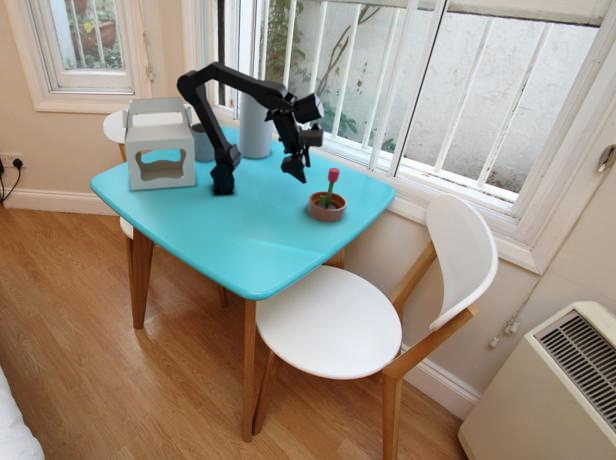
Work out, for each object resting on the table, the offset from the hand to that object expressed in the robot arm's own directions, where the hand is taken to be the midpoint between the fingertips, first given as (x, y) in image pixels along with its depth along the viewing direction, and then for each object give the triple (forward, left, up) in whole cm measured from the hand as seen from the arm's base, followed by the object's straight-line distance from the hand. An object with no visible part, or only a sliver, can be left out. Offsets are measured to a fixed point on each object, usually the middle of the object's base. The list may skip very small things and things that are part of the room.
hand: (307, 174), depth 112 cm
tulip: (+5, -6, -9) cm, 12 cm away
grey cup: (-28, +36, -10) cm, 47 cm away
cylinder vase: (-8, +38, -10) cm, 41 cm away
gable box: (-44, +20, -10) cm, 49 cm away
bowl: (+5, -6, -10) cm, 13 cm away
